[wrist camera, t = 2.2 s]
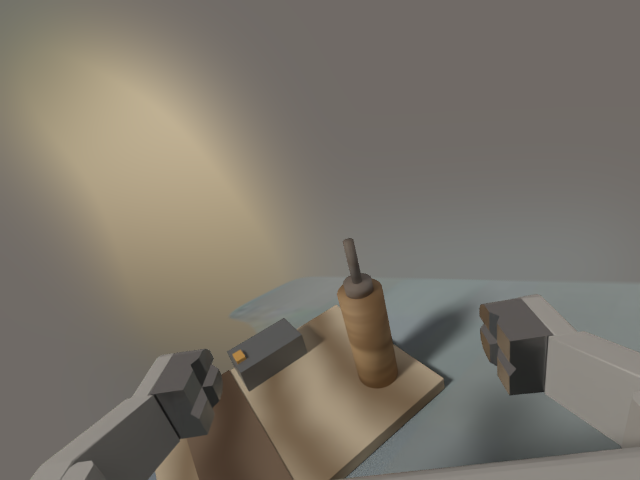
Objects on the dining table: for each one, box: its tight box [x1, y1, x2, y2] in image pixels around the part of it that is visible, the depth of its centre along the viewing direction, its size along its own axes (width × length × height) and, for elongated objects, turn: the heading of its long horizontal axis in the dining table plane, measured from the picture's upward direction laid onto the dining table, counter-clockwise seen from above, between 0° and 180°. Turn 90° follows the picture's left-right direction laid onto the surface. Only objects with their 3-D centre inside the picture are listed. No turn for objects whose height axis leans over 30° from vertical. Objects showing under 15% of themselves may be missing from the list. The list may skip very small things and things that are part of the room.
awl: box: [337, 238, 398, 389], centre depth 25 cm, size 3×3×12 cm
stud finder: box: [227, 318, 308, 392], centre depth 31 cm, size 6×4×2 cm, turn 124°
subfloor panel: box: [155, 305, 445, 480], centre depth 27 cm, size 20×14×1 cm
